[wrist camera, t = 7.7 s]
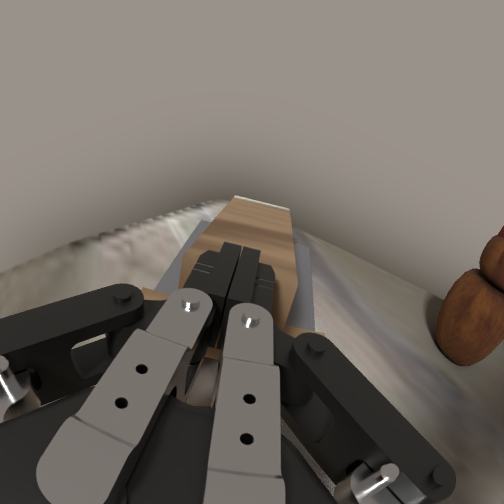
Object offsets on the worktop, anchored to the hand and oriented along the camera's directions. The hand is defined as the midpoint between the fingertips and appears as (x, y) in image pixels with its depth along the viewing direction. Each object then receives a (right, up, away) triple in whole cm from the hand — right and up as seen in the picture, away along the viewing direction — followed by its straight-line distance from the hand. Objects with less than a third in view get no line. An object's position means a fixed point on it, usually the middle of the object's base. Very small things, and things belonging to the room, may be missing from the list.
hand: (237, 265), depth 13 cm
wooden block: (0, -2, +1) cm, 3 cm away
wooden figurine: (+19, -8, +10) cm, 23 cm away
